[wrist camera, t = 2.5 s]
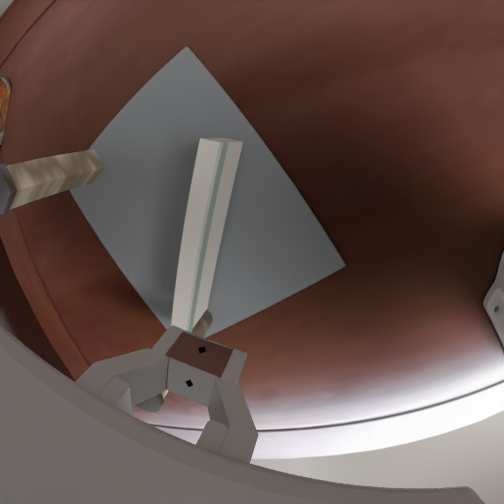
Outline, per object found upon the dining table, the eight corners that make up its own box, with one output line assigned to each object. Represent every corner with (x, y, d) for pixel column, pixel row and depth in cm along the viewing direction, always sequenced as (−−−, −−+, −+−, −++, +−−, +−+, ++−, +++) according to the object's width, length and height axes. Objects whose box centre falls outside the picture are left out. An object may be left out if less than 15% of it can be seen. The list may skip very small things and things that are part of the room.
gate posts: (221, 320, 36) (167, 409, 23) (200, 330, 37) (144, 413, 24) (97, 146, 32) (-2, 164, 18) (83, 164, 33) (-11, 189, 20)
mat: (345, 264, 30) (345, 266, 29) (183, 345, 39) (182, 348, 39) (188, 47, 25) (186, 46, 25) (67, 181, 35) (64, 182, 34)
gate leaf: (208, 308, 34) (185, 341, 29) (194, 303, 35) (169, 334, 29) (244, 141, 27) (221, 142, 21) (226, 137, 27) (199, 138, 21)
